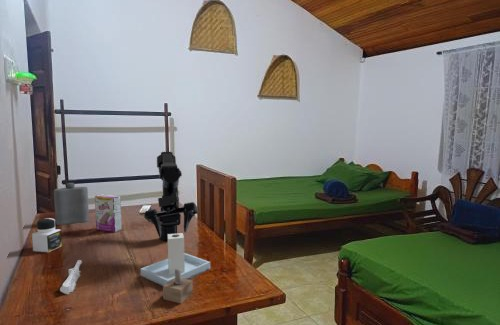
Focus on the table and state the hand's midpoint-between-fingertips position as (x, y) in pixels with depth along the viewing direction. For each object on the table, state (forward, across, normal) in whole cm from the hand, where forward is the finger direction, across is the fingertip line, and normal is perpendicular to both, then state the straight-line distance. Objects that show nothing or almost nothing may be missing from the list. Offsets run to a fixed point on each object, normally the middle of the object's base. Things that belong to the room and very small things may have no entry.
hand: (172, 234), depth 120 cm
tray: (+14, +1, -1) cm, 14 cm away
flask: (-30, -62, +40) cm, 80 cm away
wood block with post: (+23, +5, -14) cm, 28 cm away
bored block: (+13, +1, -2) cm, 13 cm away
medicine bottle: (-7, -54, +11) cm, 55 cm away
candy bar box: (-19, -39, +32) cm, 54 cm away
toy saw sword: (+12, -31, -8) cm, 34 cm away
